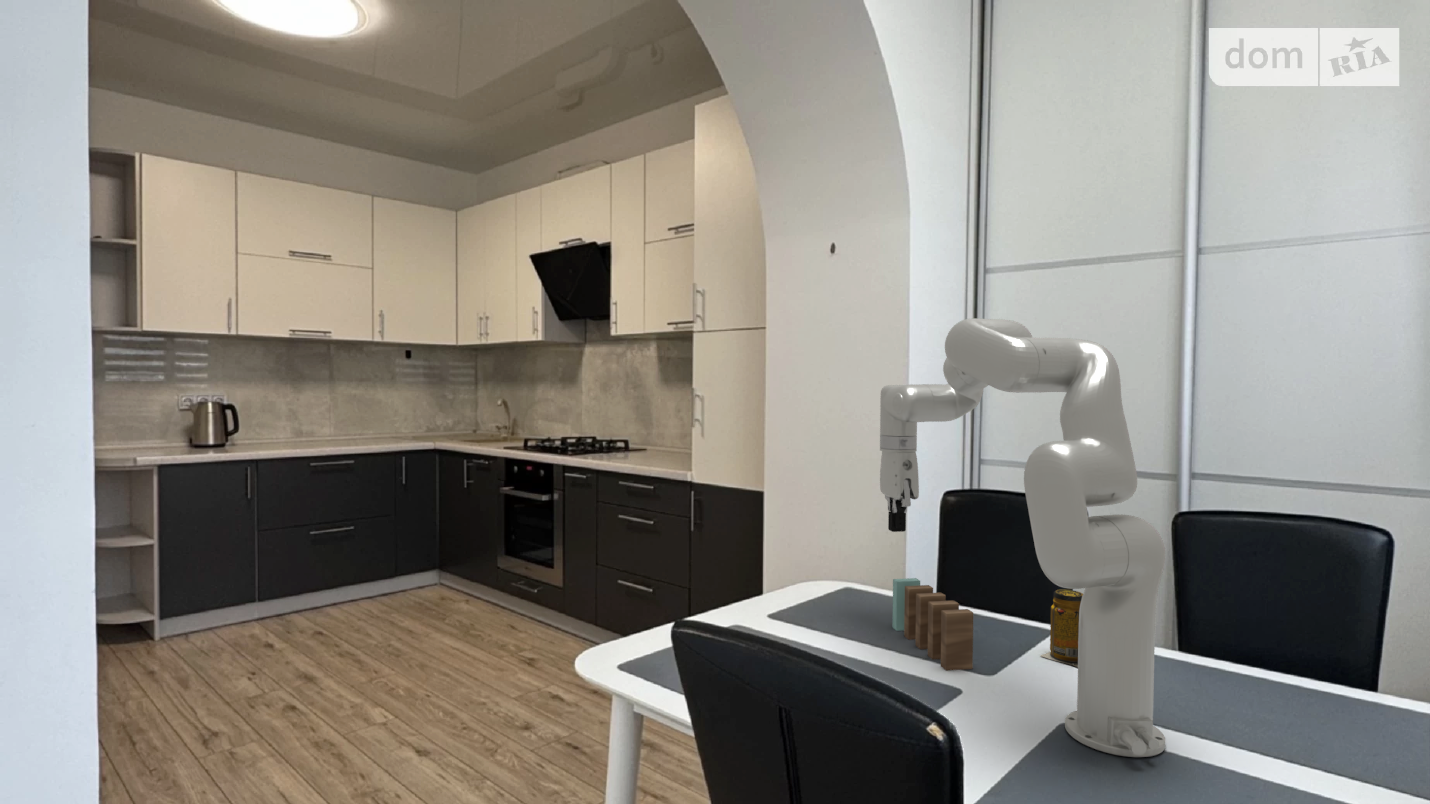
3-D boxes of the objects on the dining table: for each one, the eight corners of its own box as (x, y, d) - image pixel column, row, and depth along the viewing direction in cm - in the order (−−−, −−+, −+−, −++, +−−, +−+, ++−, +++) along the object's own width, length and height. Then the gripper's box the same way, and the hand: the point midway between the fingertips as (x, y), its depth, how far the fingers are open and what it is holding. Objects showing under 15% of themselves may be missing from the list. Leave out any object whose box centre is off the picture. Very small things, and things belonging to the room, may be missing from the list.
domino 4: (958, 657, 136) (958, 603, 136) (932, 659, 135) (933, 604, 135) (952, 653, 138) (953, 600, 138) (927, 655, 137) (928, 601, 137)
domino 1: (919, 629, 152) (920, 580, 151) (896, 630, 151) (896, 581, 150) (915, 626, 154) (916, 578, 153) (892, 627, 153) (893, 579, 152)
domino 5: (972, 668, 131) (973, 612, 131) (945, 670, 130) (946, 613, 130) (966, 664, 133) (967, 609, 133) (940, 666, 132) (941, 610, 132)
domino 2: (932, 638, 146) (933, 587, 146) (908, 639, 146) (909, 589, 145) (927, 634, 148) (928, 585, 148) (904, 636, 148) (904, 586, 147)
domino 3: (944, 647, 141) (945, 595, 141) (920, 649, 140) (920, 596, 140) (939, 644, 143) (940, 592, 143) (915, 645, 142) (916, 593, 142)
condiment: (1059, 648, 142) (1060, 585, 141) (1105, 661, 135) (1106, 595, 135) (1039, 657, 137) (1041, 592, 137) (1086, 671, 130) (1088, 603, 130)
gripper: (931, 447, 150) (929, 538, 150) (900, 440, 164) (899, 523, 165) (895, 447, 148) (894, 539, 149) (868, 441, 163) (866, 524, 164)
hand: (896, 530), depth 157 cm, fingers closed
